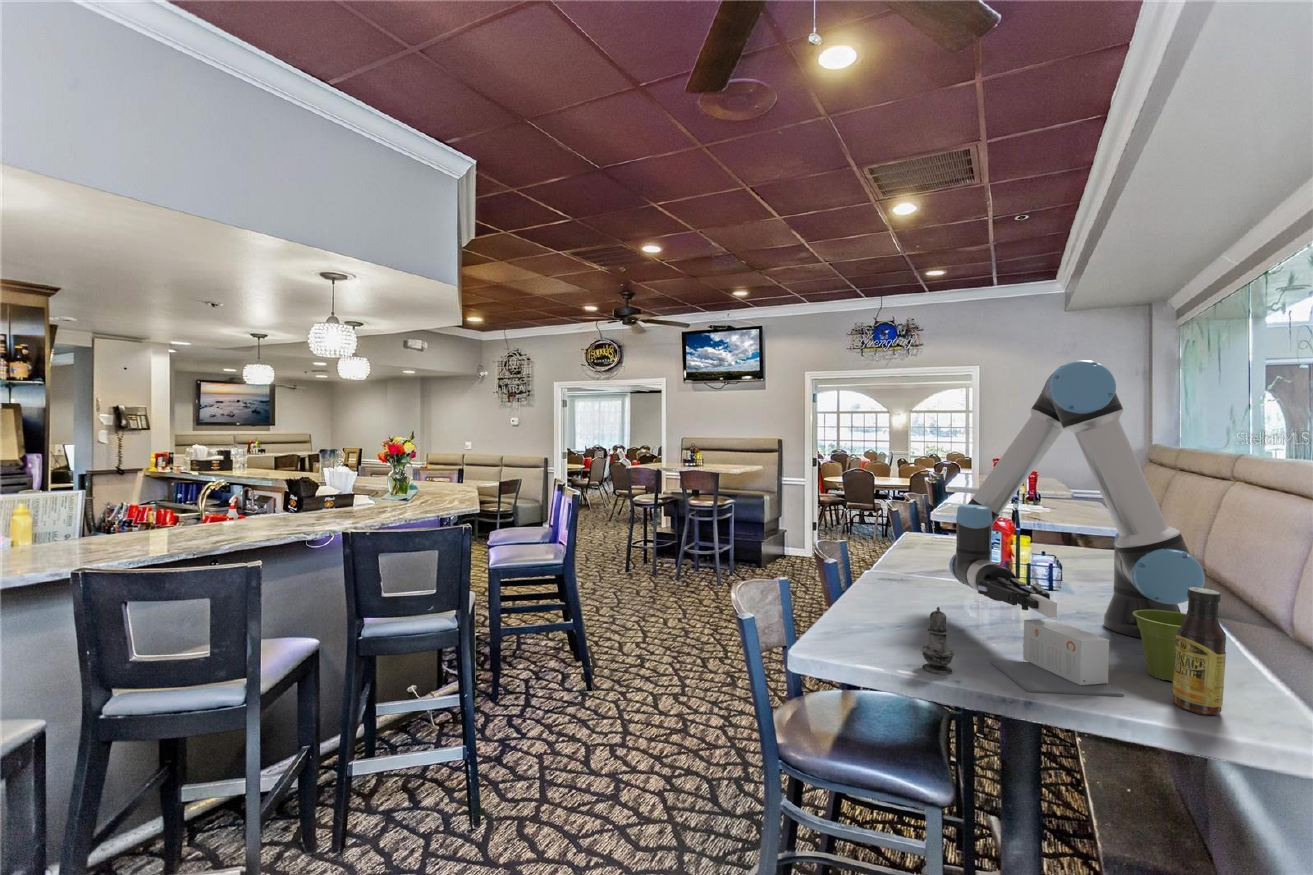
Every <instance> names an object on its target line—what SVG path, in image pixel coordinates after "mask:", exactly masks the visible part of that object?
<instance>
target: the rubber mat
mask: <svg viewBox="0 0 1313 875" xmlns="http://www.w3.org/2000/svg"><path fill="white" fill-rule="evenodd" d="M989 663H990V664H992V666H994V667H996V668H997V669H998V670H999V671H1000V672H1001V673H1003V674H1004V675H1005V676H1006V677H1008V678H1009V679H1010V680H1012V681H1013V682H1015V683H1016V684H1017V685H1018V686H1020V688H1022V689H1023V690H1024V691H1026V692H1027V693H1042V694H1044V693H1045V694H1047V693H1048V694H1065V695H1067V694H1068V695H1086V696H1087V695H1088V696H1089V695H1091V696H1108V697H1110V696H1112V697H1125V693H1123V692H1122V691H1120V690H1119V689H1117V688H1115V687H1113V686H1111V685H1110V684H1109V683H1104V684H1091V685H1078V684H1076V683H1073V682H1071V681H1069V680H1067V679H1065V678H1063V677H1060V676H1058V675H1056V674H1054V673H1052V672H1049V671H1047V670H1045V669H1043V668H1041V667H1038V666H1036V665H1034V664H1032V663H1030V662H1028V661H1013V660H992V659H991V660H989Z"/></svg>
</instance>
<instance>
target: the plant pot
mask: <svg viewBox="0 0 1313 875" xmlns="http://www.w3.org/2000/svg"><path fill="white" fill-rule="evenodd" d="M1186 614H1187V613H1184V612H1181V613H1178V612H1172V611H1163V610H1137V611H1134V612H1133V615H1134V616H1135V617H1136V619H1137V624H1138V628H1139V629H1140V633H1141V638H1140V639H1141V641H1142V642H1141V643H1142V648H1143V654H1144V658H1145V664H1146V669H1147V673H1148V674H1149V676H1152V677H1154V678H1156V679H1157V678H1159V679H1158V680H1160V679H1162V680H1161V681H1165V680H1166V681H1170V682H1172V683H1173V676H1174V660H1175V646H1176V635H1177V633H1178V631H1179V629H1180V626H1181V624H1182V622H1183V620H1184V618H1185V616H1186Z"/></svg>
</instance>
